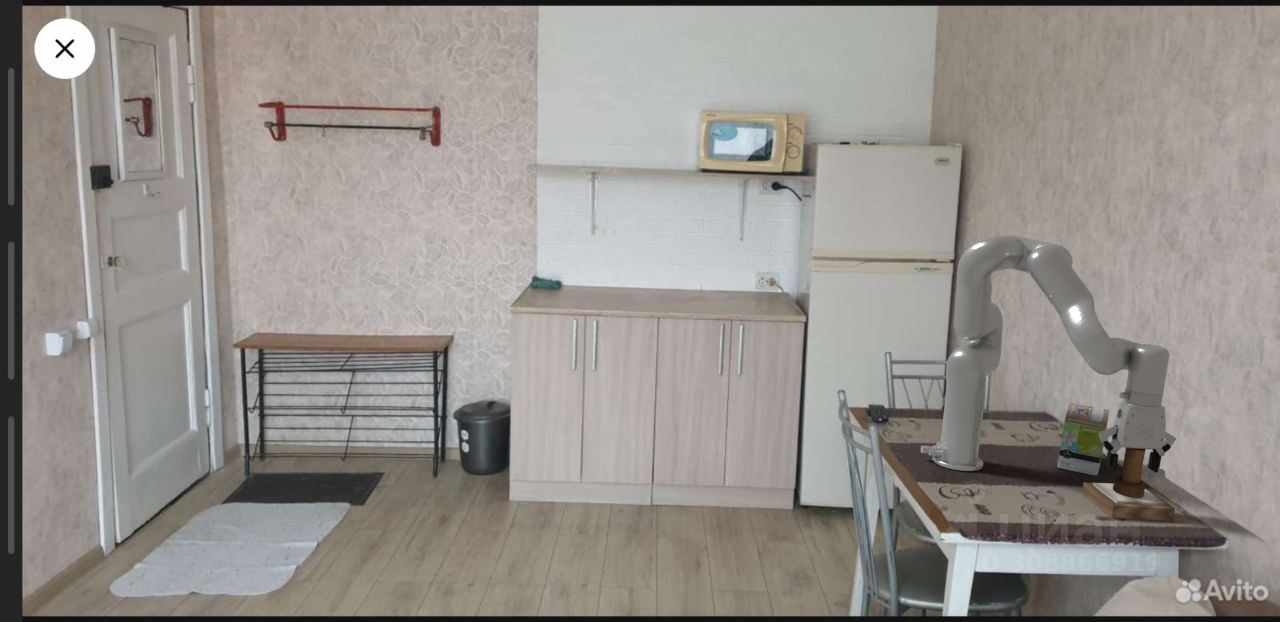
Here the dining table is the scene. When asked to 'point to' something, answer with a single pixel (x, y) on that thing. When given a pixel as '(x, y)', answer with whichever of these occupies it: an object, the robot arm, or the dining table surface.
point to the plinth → (1127, 503)
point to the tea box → (1082, 439)
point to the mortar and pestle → (1131, 474)
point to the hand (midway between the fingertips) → (1131, 469)
